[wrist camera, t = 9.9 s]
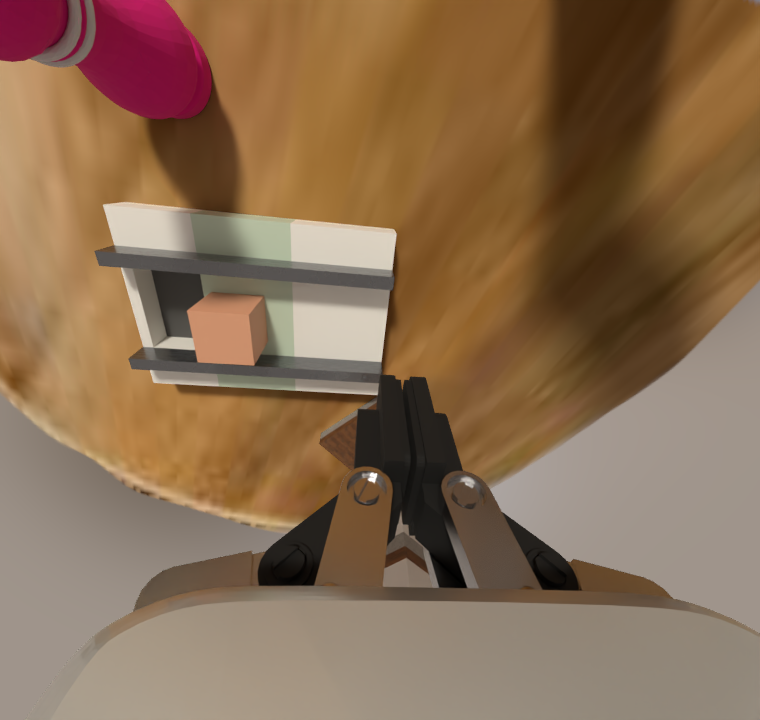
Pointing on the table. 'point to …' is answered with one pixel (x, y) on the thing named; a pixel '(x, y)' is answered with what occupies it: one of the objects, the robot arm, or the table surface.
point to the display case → (404, 550)
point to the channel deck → (259, 288)
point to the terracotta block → (229, 328)
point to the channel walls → (256, 270)
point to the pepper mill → (114, 50)
